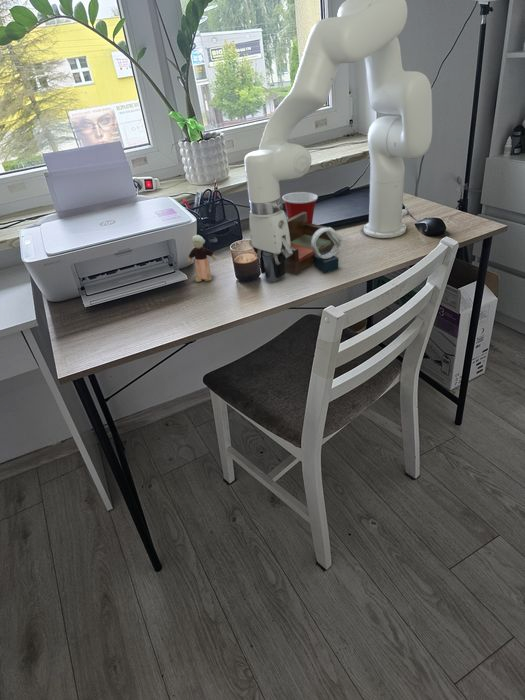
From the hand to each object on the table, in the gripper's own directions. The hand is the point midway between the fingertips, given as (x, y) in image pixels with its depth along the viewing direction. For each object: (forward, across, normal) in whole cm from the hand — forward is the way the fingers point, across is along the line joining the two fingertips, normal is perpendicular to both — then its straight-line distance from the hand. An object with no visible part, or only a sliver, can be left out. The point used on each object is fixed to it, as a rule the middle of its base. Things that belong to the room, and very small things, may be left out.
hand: (273, 273), depth 122 cm
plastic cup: (+2, +13, -28) cm, 31 cm away
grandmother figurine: (+2, +16, +10) cm, 19 cm away
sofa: (+2, +2, -13) cm, 13 cm away
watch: (+2, -8, -12) cm, 15 cm away
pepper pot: (+1, 0, 0) cm, 1 cm away
